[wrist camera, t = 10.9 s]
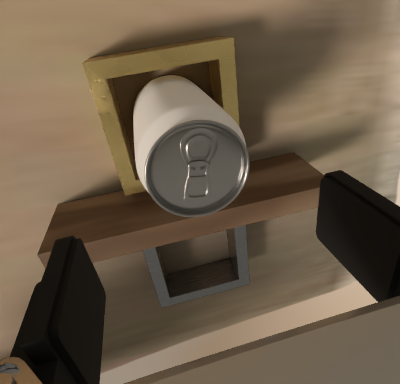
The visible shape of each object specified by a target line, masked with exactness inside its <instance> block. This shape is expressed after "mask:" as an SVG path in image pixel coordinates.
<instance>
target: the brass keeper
mask: <svg viewBox="0 0 400 384" xmlns="http://www.w3.org/2000/svg"><path fill="white" fill-rule="evenodd" d="M205 61H208V63H209V72H210V82H211V91H212V100H214V101H215V102H216V103H217V104H218V105H219V106H220V107H221V108H222V109H223V110H224V111H226V112H227V113H228V114H229V115H230V116H231V117H232V118H233V119H234V121H235V122H236V123H237V125H238V126H239V111H238V96H237V80H236V64H235V49H234V37H224V36H218V37H212V38H206V39H200V40H194V41H188V42H182V43H176V44H170V45H164V46H158V47H152V48H146V49H141V50H135V51H129V52H123V53H117V54H111V55H105V56H99V57H93V58H88V59H87V60H86V61H84V62H83V63H82V64H83V67H84V70H85V73H86V76H87V79H88V82H89V85H90V89H91V92H92V95H93V98H94V101H95V104H96V107H97V110H98V113H99V116H100V120H101V123H102V126H103V129H104V132H105V135H106V138H107V141H108V144H109V147H110V150H111V154H112V157H113V160H114V163H115V166H116V169H117V172H118V175H119V178H120V181H121V185H122V188H123V191H124V194H125V196H126V195H131V194H135V193H140V192H144V191H147V190H146V189H145V188H144V186H143V184H142V183H141V181H140V178H139V176H138V173H137V169H136V163H135V162H134V158H133V154H132V151H131V147H130V144H129V140H128V137H127V133H126V130H125V126H124V122H123V119H122V115H121V112H120V108H119V105H118V101H117V98H116V94H115V90H114V87H113V83H112V80H111V78H115V77H120V76H126V75H132V74H137V73H143V72H149V71H154V70H160V69H166V68H171V67H177V66H183V65H188V64H194V63H200V62H205ZM239 128H240V127H239Z"/></svg>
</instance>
